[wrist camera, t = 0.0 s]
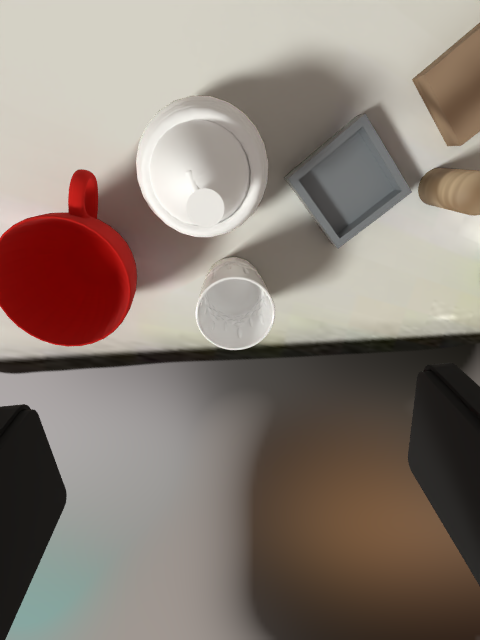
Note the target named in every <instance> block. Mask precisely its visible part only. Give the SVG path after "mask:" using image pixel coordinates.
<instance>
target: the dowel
mask: <svg viewBox="0 0 480 640" xmlns="http://www.w3.org/2000/svg"><path fill="white" fill-rule="evenodd" d="M418 193H419V197H420V199H421V200H422V201H423V202H424V203H426V204H428V205H432V206H436V207H440V208H444V209H448V210H452V211H456V212H460V213H464V214H468V215H480V171H478V170H463V169H449V168H435V169H432V170H430V171H429V172H427V173H426V174H425V175H424V176H423V178H422V179H421V181H420V183H419V187H418Z"/></svg>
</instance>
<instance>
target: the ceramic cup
mask: <svg viewBox="0 0 480 640" xmlns="http://www.w3.org/2000/svg"><path fill="white" fill-rule="evenodd" d="M68 206H69V213H49V214H44V215H39V216H35V217H31V218H27V219H25V220H23V221H21V222H19V223H17V224H15V225H13V226H12V227H11V228H10V229H8V230H7V231H6V232H5V233H4V234H3V235H2V236H1V238H0V307H1V308H2V309H3V311H4V312H5V313H6V315H7V316H8V317H9V318H10V319H11V320H12V321H13V322H14V323H15V324H16V325H17V326H18V327H20V328H21V329H22V330H24V331H25V332H27V333H28V334H30V335H32V336H34V337H36V338H38V339H40V340H42V341H45V342H48V343H52V344H55V345H62V346H82V345H87V344H92V343H95V342H97V341H99V340H102V339H104V338H105V337H107V336H108V335H110V334H111V333H112V332H114V331H115V330H116V329H117V328H118V326H119V325H120V324H121V323H122V322H123V320H124V318H125V317H126V315H127V313H128V311H129V309H130V307H131V304H132V301H133V298H134V295H135V291H136V284H137V271H136V263H135V260H134V257H133V254H132V252H131V250H130V248H129V246H128V245H127V243H126V242H125V240H124V239H123V238H122V237H121V236H120V234H119V233H118V232H116V231H115V230H114V229H113V228H112V227H110V226H109V225H107V224H106V223H104V222H102V221H101V220H99V219H97V214H98V186H97V181H96V178H95V176H94V175H93V173H91V172H89V171H87V170H77V171H76V172H75V173H74V174H73V176H72V179H71V182H70V187H69V198H68Z"/></svg>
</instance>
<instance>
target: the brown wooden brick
mask: <svg viewBox="0 0 480 640" xmlns="http://www.w3.org/2000/svg"><path fill="white" fill-rule="evenodd" d="M412 80H413V82H414V84H415V86H416V88H417V90H418V92H419V94H420V95H421V97H422V99H423V101H424V103H425V105H426V107H427V109H428V110H429V112H430V114H431V116H432V118H433V120H434V122H435V124H436V125H437V127H438V129H439V131H440V133H441V135H442V137H443V139H444V141H445V142H446V144H447V146H461V145H463V144H464V143H465V142H466V141H468V140H469V139H470V138H472V137H473V136H474V135H475V134H477V133H478V132H479V131H480V23H479V24H478V25H476V26H475V27H474V28H473V29H472V30H470V31H469V32H468V33H467V34H466V35H465V36H463V37H462V38H461V39H460V40H459V41H457V42H456V43H455V44H454V45H453V46H451V47H450V48H449V49H448V50H447V51H446V52H444V53H443V54H442V55H441V56H440V57H438V58H437V59H436V60H435V61H434V62H432V63H431V64H430V65H429V66H428V67H427V68H425V69H424V70H423V71H422V72H421V73H419V74H418V75H417V76H416V77H415V78H413V79H412Z"/></svg>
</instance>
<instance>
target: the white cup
mask: <svg viewBox="0 0 480 640" xmlns="http://www.w3.org/2000/svg"><path fill="white" fill-rule="evenodd" d="M274 319H275V307H274V303H273V300H272V298H271V296H270V293H269V291H268V289H267V287H266V285H265V283H264V281H263V280H262V278H261V276H260V275H259V273H258V272H257V269H256V268H255V267H254V266H253V265H251V264H250V263H249V262H248V261H247V260H244V259H241V258H237V257H231V258H224V259H221V260H220V261H219V262H217V263H216V264H214V265H213V266H212V267H211V269H210V271H209V272H208V274H207V276H206V278H205V280H204V283H203V286H202V289H201V292H200V296H199V299H198V302H197V306H196V321H197V325H198V327H199V329H200V331H201V333H202V334H203V336H204V337H205V338H206V339H207V340H208V341H210V342H211V343H212V344H214V345H216V346H218V347H221V348H224V349H229V350H241V349H246V348H249V347H252V346H254V345H256V344H257V343H259V342H260V341H262V340H263V339H264V338H265V337H266V336H267V334H268V333H269V332H270V330H271V328H272V326H273V323H274Z"/></svg>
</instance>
